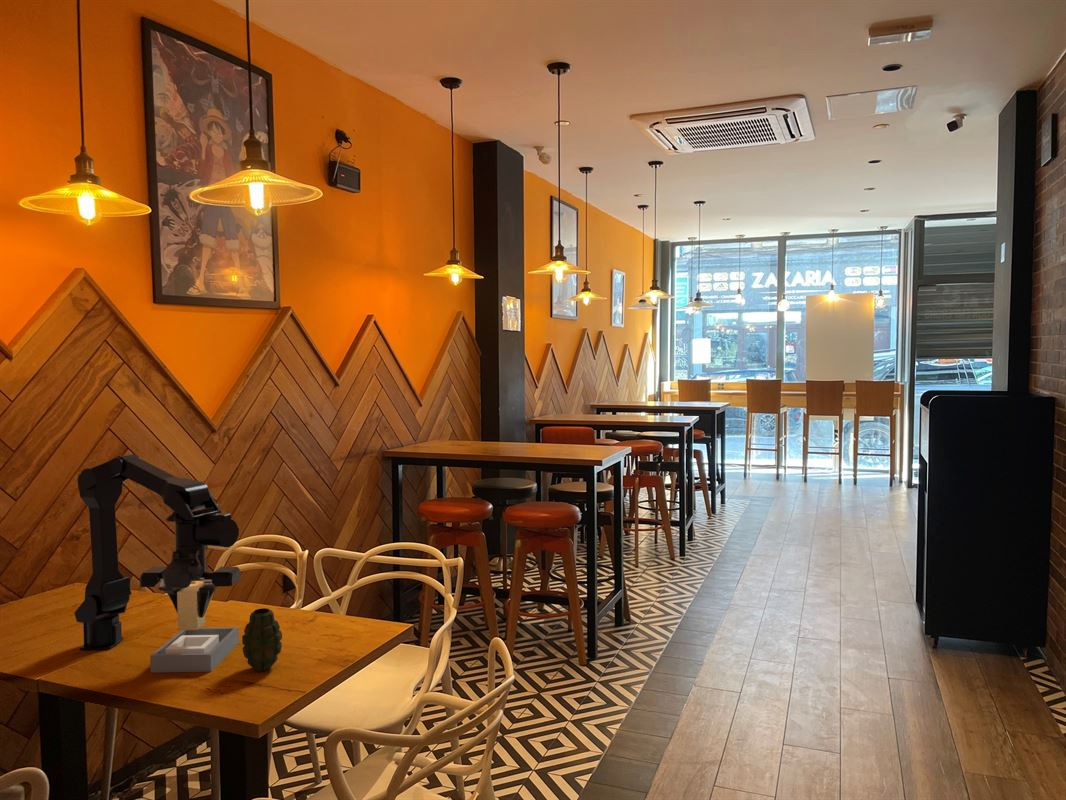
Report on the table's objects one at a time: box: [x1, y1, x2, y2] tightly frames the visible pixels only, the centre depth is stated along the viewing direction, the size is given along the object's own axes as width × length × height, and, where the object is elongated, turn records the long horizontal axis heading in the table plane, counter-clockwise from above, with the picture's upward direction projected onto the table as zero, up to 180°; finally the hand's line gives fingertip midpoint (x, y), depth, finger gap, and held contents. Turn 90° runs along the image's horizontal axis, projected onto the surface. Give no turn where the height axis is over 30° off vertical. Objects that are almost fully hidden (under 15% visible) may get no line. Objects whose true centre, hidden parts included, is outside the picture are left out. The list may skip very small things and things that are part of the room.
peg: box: [177, 585, 206, 631], centre depth 157 cm, size 4×4×8 cm
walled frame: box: [149, 626, 240, 674], centre depth 159 cm, size 12×16×4 cm
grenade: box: [241, 607, 283, 672], centre depth 153 cm, size 8×8×12 cm
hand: (191, 617), depth 157 cm, fingers closed on peg, 4 cm apart
